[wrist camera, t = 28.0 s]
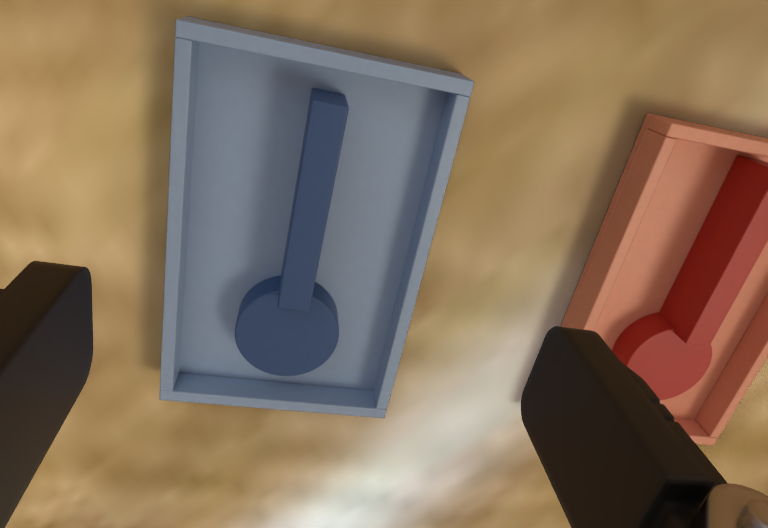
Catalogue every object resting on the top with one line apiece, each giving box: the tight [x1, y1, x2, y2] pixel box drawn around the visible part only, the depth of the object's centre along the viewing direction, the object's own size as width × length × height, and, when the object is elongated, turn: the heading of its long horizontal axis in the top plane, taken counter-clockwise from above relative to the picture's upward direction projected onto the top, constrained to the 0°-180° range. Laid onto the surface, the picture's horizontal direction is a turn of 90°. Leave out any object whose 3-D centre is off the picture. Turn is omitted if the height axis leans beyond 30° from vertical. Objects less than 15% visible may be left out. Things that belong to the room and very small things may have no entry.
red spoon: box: [612, 155, 768, 400], centre depth 28 cm, size 13×5×3 cm, turn 168°
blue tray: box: [160, 16, 474, 418], centre depth 25 cm, size 17×11×2 cm, turn 168°
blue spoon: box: [235, 88, 349, 376], centre depth 24 cm, size 13×5×3 cm, turn 167°
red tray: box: [561, 113, 768, 445], centre depth 29 cm, size 17×11×2 cm, turn 168°
